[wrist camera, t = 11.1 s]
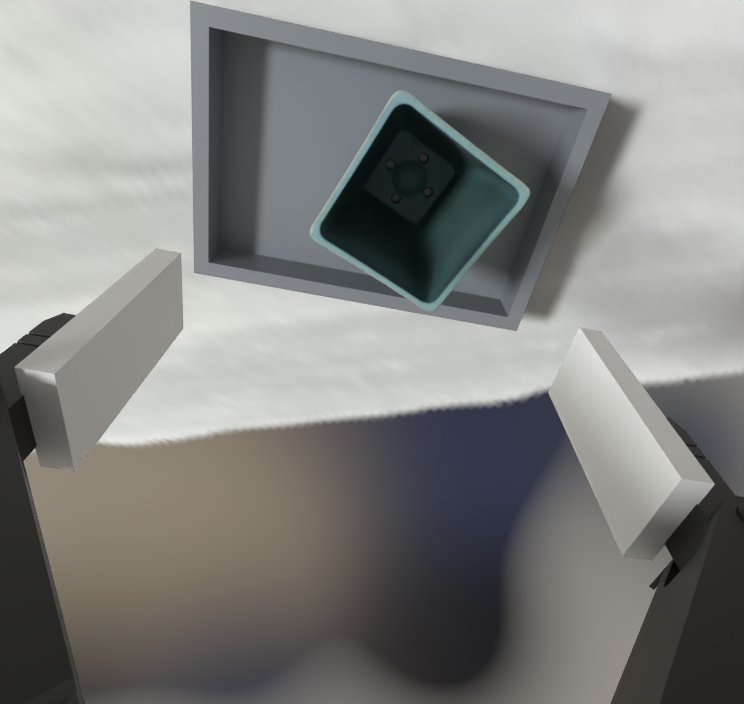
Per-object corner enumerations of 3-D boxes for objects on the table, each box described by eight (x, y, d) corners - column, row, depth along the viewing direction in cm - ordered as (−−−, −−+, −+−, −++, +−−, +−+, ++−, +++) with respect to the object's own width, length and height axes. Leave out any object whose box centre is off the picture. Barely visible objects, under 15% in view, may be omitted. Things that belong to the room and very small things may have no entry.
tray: (587, 89, 31) (611, 93, 28) (505, 307, 39) (516, 330, 36) (213, 6, 29) (190, 0, 26) (211, 253, 38) (194, 272, 34)
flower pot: (501, 159, 32) (536, 193, 25) (422, 261, 36) (432, 316, 29) (396, 75, 30) (398, 84, 22) (323, 194, 34) (305, 235, 26)
